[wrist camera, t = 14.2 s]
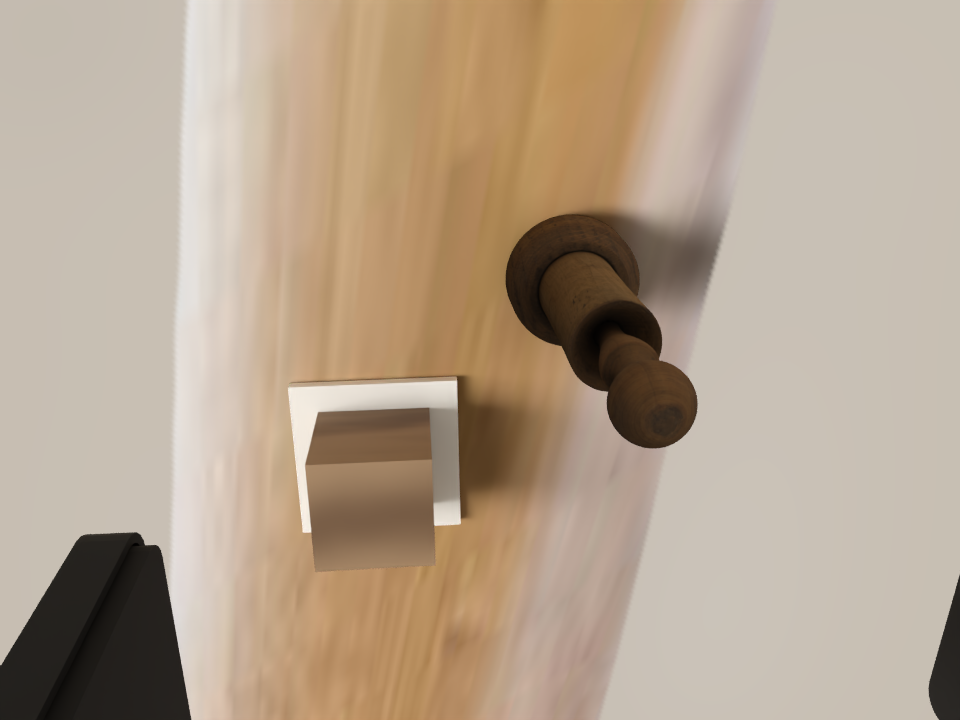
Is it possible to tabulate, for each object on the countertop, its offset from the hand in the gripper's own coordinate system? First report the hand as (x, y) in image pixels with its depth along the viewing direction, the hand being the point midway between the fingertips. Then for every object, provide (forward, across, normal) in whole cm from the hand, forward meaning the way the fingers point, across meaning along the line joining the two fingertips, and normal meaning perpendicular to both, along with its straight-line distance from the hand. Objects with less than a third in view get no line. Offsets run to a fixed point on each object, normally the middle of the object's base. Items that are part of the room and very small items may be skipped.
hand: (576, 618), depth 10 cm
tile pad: (+34, +4, +17) cm, 38 cm away
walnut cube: (+33, +4, +17) cm, 38 cm away
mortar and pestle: (+34, -6, +7) cm, 36 cm away
